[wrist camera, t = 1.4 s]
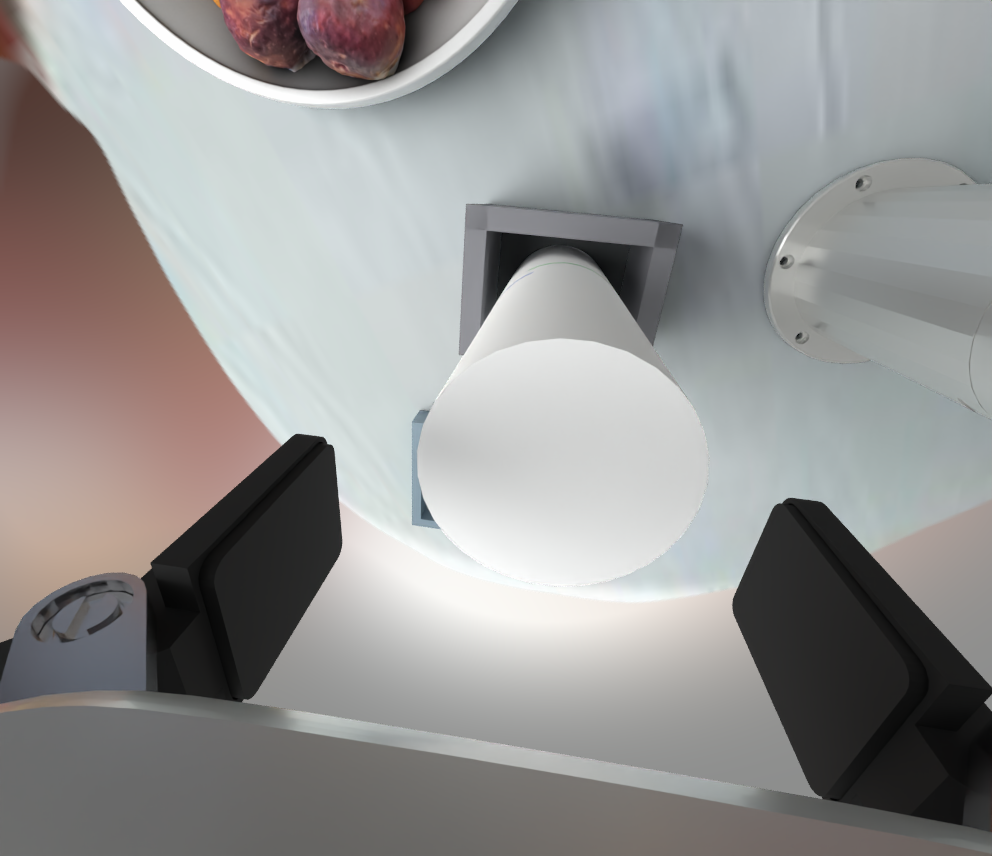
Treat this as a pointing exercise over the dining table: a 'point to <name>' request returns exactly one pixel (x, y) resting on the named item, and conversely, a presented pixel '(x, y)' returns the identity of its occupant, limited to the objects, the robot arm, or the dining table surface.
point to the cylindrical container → (562, 435)
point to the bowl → (324, 43)
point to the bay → (646, 238)
